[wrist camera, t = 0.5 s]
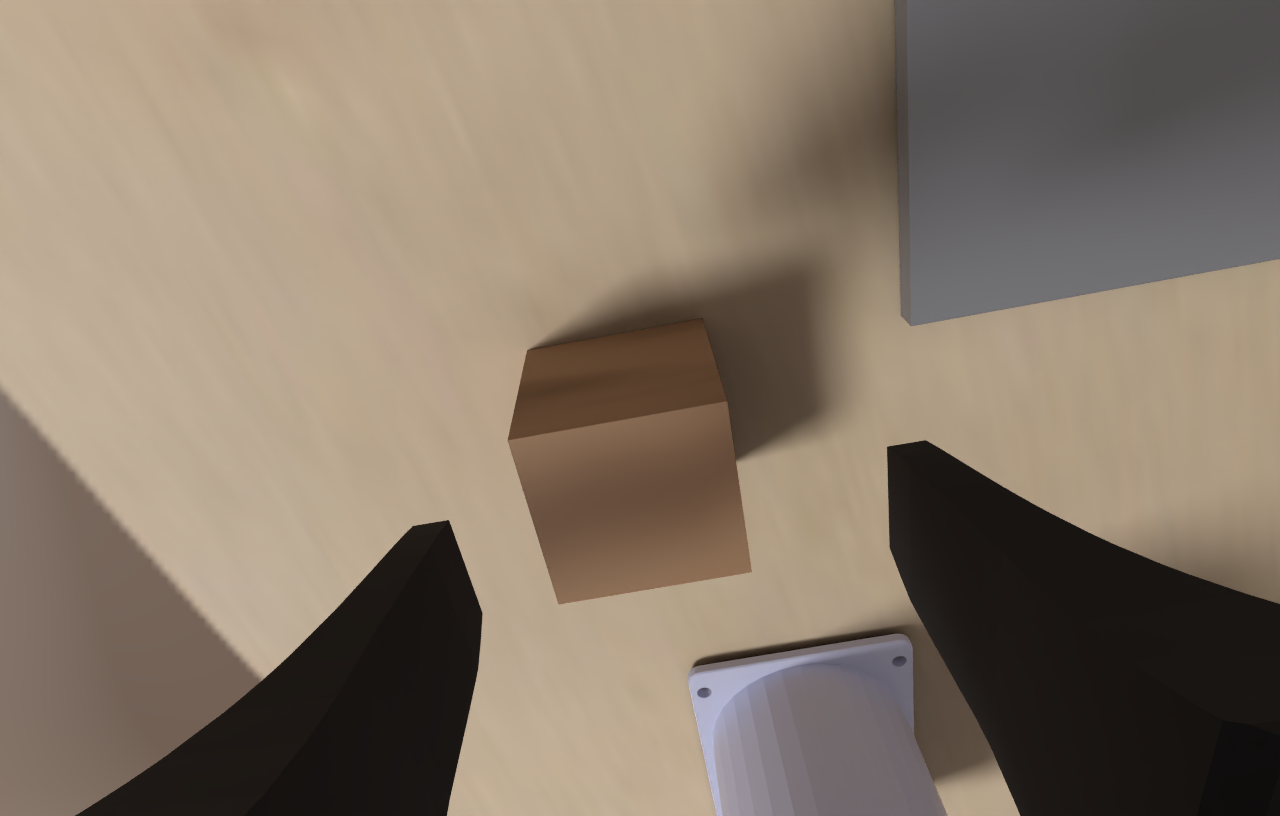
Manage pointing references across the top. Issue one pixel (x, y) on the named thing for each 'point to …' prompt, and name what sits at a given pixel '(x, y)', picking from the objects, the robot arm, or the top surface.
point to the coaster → (1081, 146)
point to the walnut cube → (629, 462)
